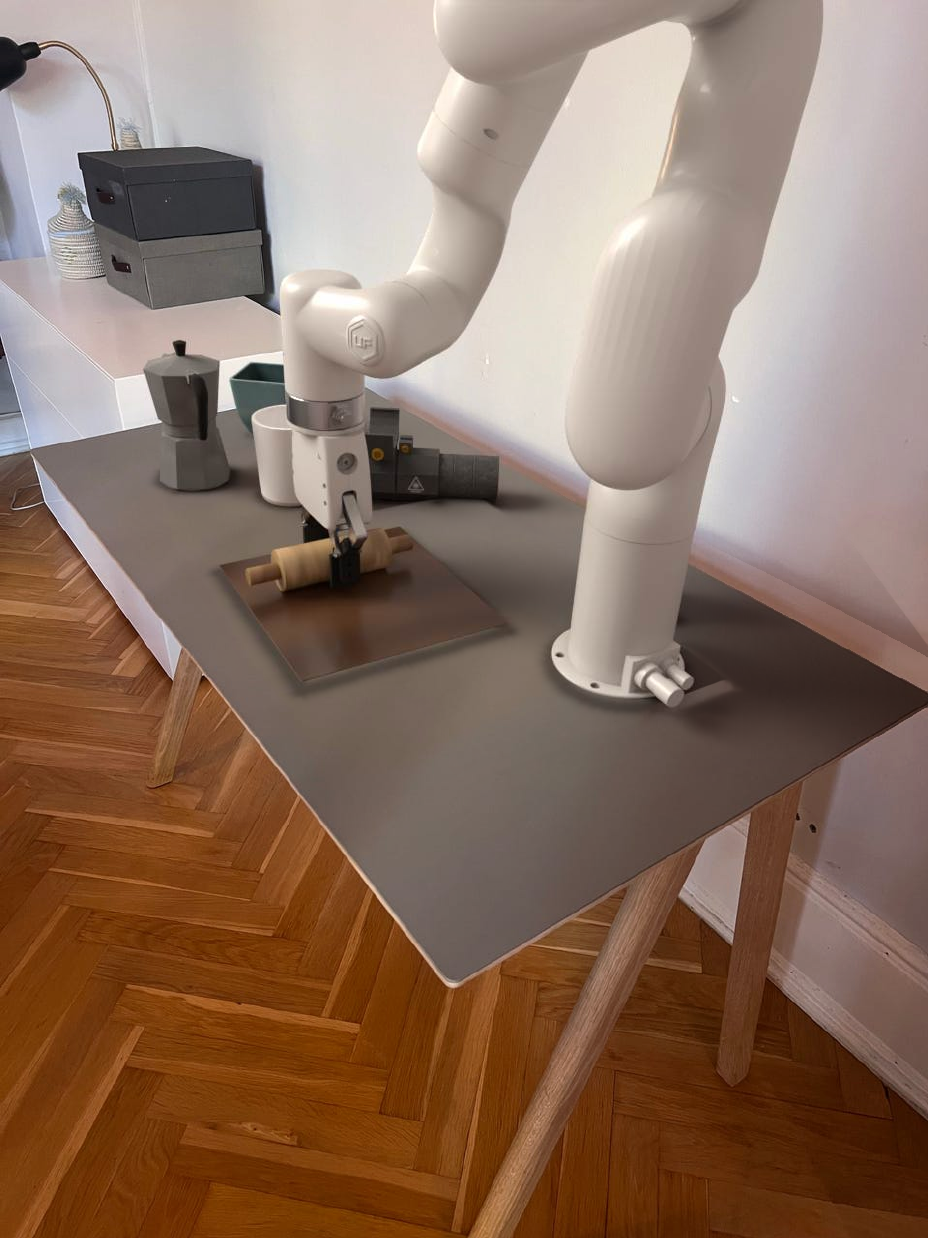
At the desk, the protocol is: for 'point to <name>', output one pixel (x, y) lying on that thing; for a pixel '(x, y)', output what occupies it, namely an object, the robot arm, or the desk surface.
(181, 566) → the desk surface
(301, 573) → the rolling pin
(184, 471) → the coffeepot
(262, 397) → the flower pot
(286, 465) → the mug
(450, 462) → the laser sight
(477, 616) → the pastry board
